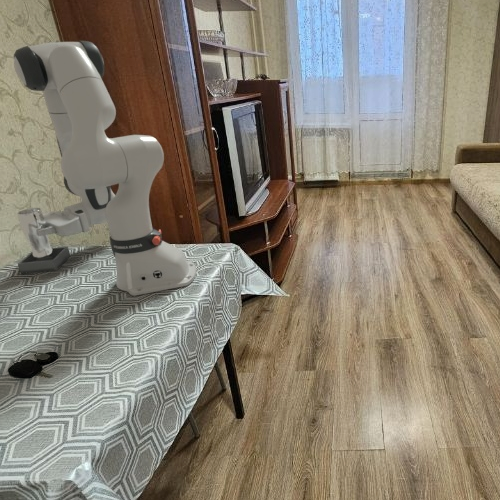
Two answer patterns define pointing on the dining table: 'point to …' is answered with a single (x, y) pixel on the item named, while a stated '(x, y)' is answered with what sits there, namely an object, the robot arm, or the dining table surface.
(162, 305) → the dining table surface
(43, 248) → the silver tall rounded piece
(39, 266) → the box
